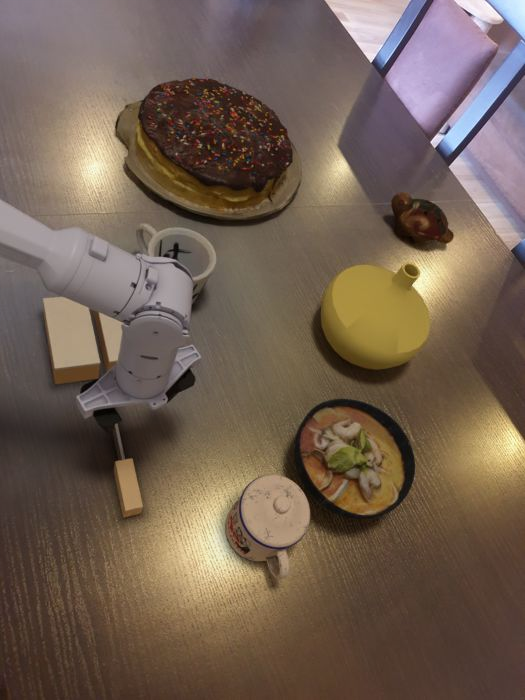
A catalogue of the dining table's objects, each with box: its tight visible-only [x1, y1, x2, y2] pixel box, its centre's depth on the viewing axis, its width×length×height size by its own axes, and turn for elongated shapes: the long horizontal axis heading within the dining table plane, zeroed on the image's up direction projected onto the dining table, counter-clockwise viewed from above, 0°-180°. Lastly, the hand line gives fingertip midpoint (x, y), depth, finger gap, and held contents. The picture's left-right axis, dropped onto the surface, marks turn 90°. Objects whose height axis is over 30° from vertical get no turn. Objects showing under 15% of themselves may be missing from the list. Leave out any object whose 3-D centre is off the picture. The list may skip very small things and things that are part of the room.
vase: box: [320, 261, 431, 370], centre depth 91 cm, size 18×18×19 cm
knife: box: [111, 423, 144, 519], centre depth 75 cm, size 18×2×3 cm, turn 18°
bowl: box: [293, 398, 416, 521], centre depth 80 cm, size 17×17×10 cm
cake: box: [114, 77, 303, 221], centre depth 109 cm, size 37×37×10 cm
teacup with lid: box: [225, 474, 311, 581], centre depth 71 cm, size 12×9×12 cm
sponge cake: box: [42, 296, 124, 385], centre depth 82 cm, size 13×12×5 cm
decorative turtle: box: [390, 192, 455, 246], centre depth 115 cm, size 10×15×8 cm, turn 78°
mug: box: [135, 222, 217, 305], centre depth 89 cm, size 10×15×10 cm
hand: (133, 411), depth 69 cm, fingers open, 7 cm apart
